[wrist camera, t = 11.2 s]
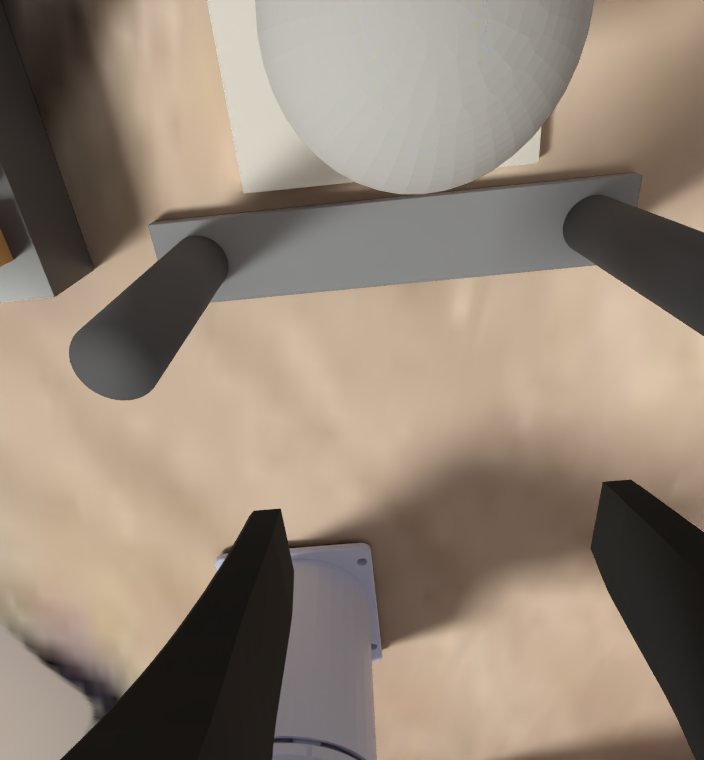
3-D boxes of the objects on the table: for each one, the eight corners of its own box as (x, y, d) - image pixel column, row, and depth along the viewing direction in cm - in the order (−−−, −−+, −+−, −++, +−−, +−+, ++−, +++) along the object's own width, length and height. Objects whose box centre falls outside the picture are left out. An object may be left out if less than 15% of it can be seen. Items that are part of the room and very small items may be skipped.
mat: (533, 161, 18) (538, 162, 17) (246, 191, 18) (243, 193, 17) (555, -141, 14) (562, -149, 13) (192, -96, 14) (187, -102, 14)
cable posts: (619, 257, 19) (794, 358, 12) (175, 300, 20) (73, 423, 12) (633, 172, 18) (842, 226, 10) (153, 221, 18) (23, 306, 11)
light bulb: (431, -130, 14) (589, -536, 5) (516, 88, 16) (722, 83, 7) (252, 11, 15) (124, -104, 6) (356, 192, 17) (368, 290, 9)
